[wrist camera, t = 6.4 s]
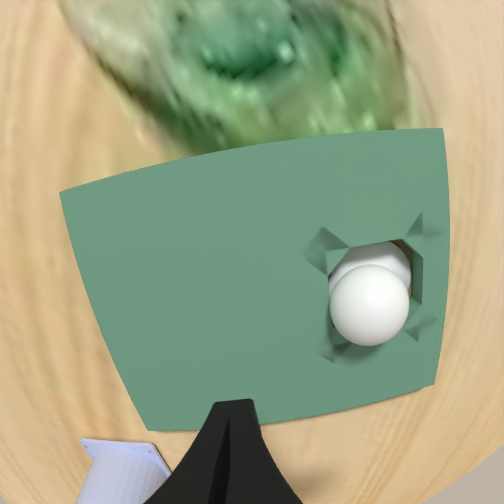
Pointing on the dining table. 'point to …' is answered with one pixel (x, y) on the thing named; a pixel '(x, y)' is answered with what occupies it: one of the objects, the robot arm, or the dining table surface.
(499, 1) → the dining table surface
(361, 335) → the ball
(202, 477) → the robot arm
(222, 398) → the green
